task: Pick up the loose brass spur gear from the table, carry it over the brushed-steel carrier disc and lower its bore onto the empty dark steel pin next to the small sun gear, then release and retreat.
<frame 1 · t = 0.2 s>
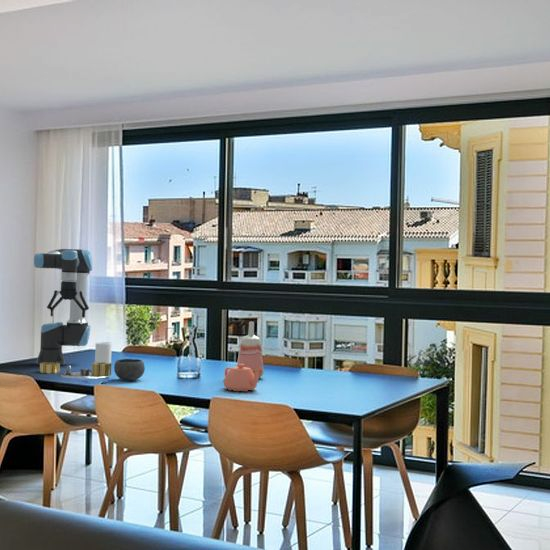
hand: (67, 323, 393), 27 cm above the table, fingers open, 13 cm apart
pink squeeze bottle: (249, 378, 413), on the table
cup: (102, 373, 412), on the table
pin: (68, 374, 392), resting on carrier
carrier: (84, 378, 393), on the table
seated gear: (101, 375, 395), resting on carrier
teapot: (241, 390, 373), on the table
bowl: (129, 380, 391), on the table
gear: (49, 375, 399), on the table
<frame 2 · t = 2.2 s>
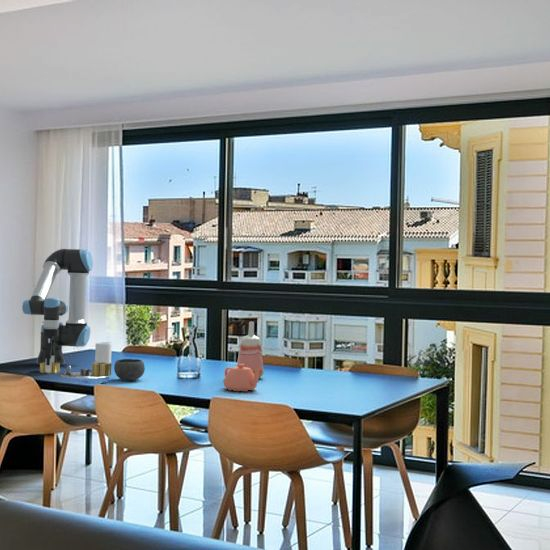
hand: (49, 370, 399), 3 cm above the table, fingers open, 13 cm apart
nothing on the table moved.
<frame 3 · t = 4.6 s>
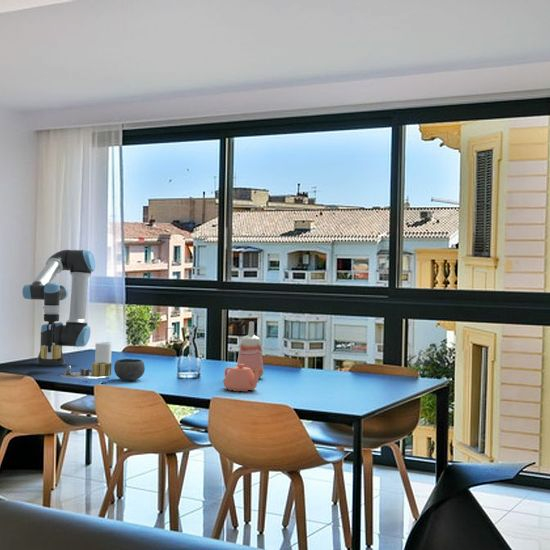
hand: (50, 357, 400), 9 cm above the table, fingers closed on gear, 10 cm apart
gear: (50, 357, 400), point 9 cm above the table, touching gripper
everything else where it was.
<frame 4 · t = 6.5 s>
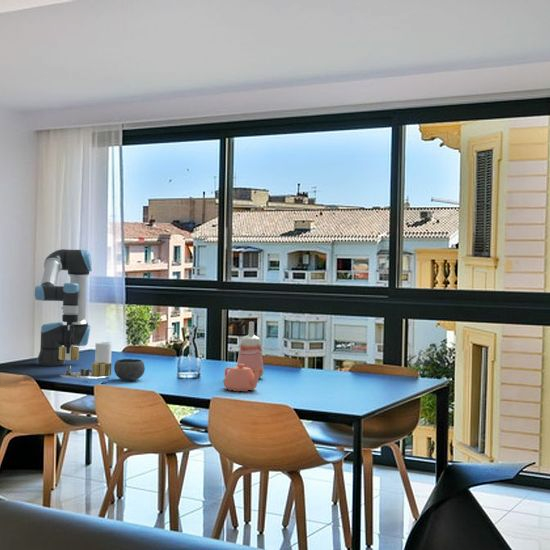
hand: (68, 358, 392), 10 cm above the table, fingers closed on gear, 10 cm apart
gear: (68, 359, 392), point 9 cm above the table, touching gripper
everything else where it was.
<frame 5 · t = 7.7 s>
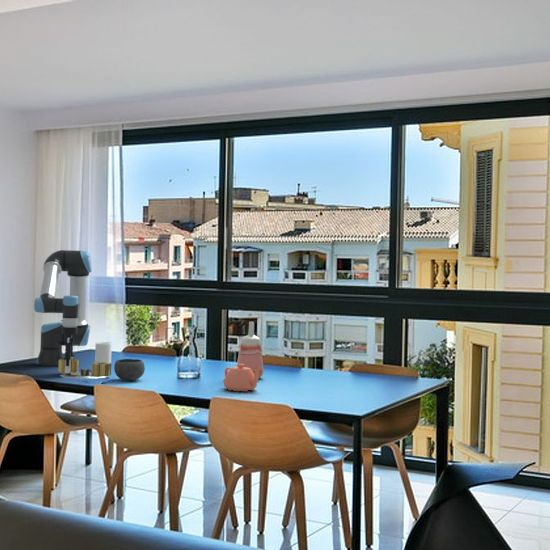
hand: (68, 371, 392), 3 cm above the table, fingers closed on gear, 10 cm apart
gear: (68, 371, 392), point 3 cm above the table, touching gripper
everything else where it was.
when the fingers open (3 cm above the table, at t = 8.6 s): gear drops 1 cm, resting on carrier.
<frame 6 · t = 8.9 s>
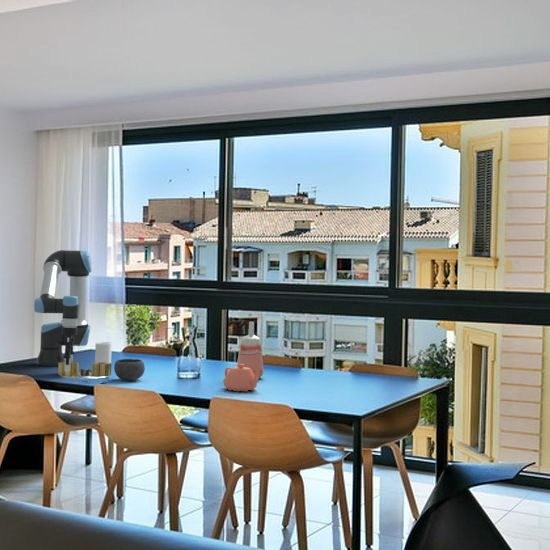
hand: (68, 369, 392), 4 cm above the table, fingers open, 13 cm apart
gear: (68, 374, 392), point 1 cm above the table, touching carrier
everything else where it was.
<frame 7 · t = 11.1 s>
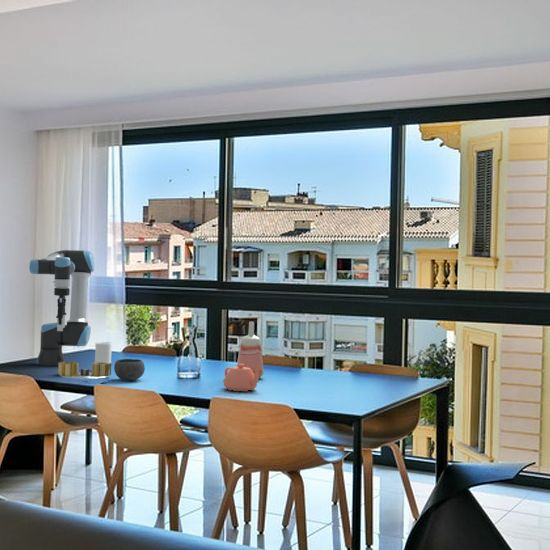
hand: (60, 329, 399), 23 cm above the table, fingers open, 13 cm apart
nothing on the table moved.
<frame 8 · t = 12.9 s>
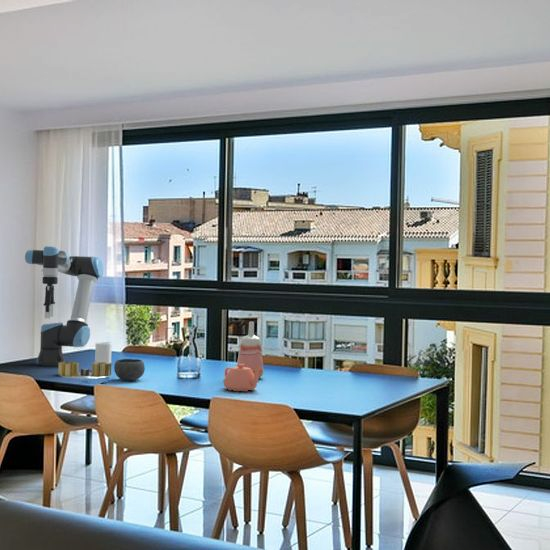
hand: (48, 317, 406), 29 cm above the table, fingers open, 13 cm apart
nothing on the table moved.
at the end: gear 0.1 cm off-centre on the pin, point 0.0 cm above the pin's base; gear tilted 0°; the gripper is holding nothing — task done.
